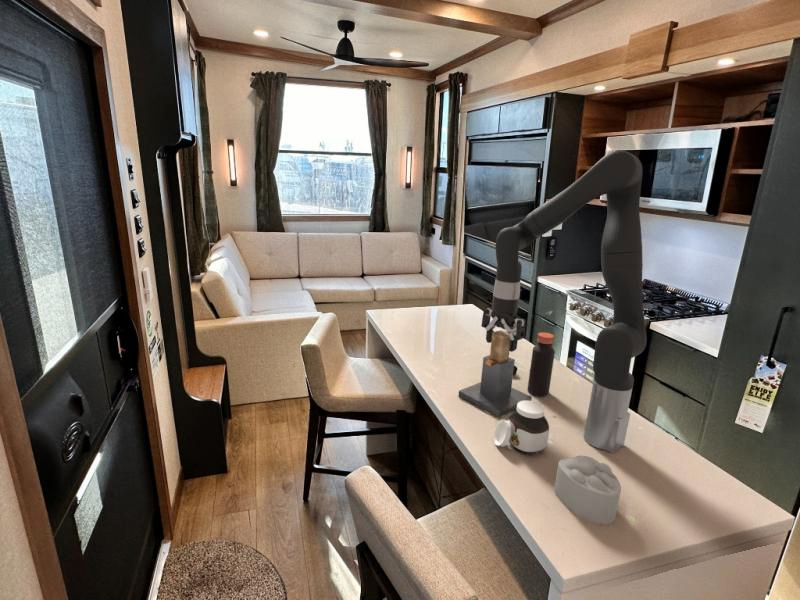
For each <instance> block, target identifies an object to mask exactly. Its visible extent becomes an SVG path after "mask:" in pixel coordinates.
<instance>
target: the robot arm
mask: <svg viewBox="0 0 800 600" xmlns="http://www.w3.org/2000/svg"><path fill="white" fill-rule="evenodd" d="M643 171H644V170H643V164H642V162H641V160H640V159H639V158H638V157H637V156H636V155H634V154H632V153H631V152H628V151H625V150H621V149H620V150H613V151H611V152H609V153H607V154H605V155H604V156H603V157H601V158H600V159H599V160H598V161H597V162H596V163H595V164H594V165H592V166H591V167H590V169H588V170H587V171H586V172H585V173H584V174H583V175H582V176H581V177H580V178H578V179H577V180H576V181H574V182H573V183H572V184H570V185H569V186H567V188H565V189H564V190H562V191H561V192H559V193H557V194H556V195H555V196H553V197H551V199H548V200H547V201H546V202H544V203H542V204H541V205H539V206H538V207H537V208H535V209H534V210H532V211H531V212H530V213H528V214H527V215H526V217H525V218H524V219H522V221H520V222H518V223H517V224H515V225H513V226H509V227H505V228H503V229H500V231H499V232H498V234H497V236H496V239H495V246H494V247H495V258H496V264H497V266H496V273H495V282H494V286H493V294H492V303H491V307H489V308H484V309H483V313H482V318H481V319H482V320H481V325H480V326H481V327H482V328H484V329H485V331H486V334H485V340H486V343H488V344H490V343H491V341H492V333H493V332H495V331H494V329H495V328H496V327H497V328H500V329H501V330H503V331H504V330H505V332H507V333H508V334H509V336H510V338H511V340H510V345H509V353H510V352H515V351H516V350H517V348H518V342H519V341H520V340H523V339H525V334H526V333H525V332H526V323H527V322H526V319H525V318H521V319H520V318H517V313H518V310H519V304H520V303H519V302H520V296H521V295H520V293H521V279H522V278H521V277H522V269H523V268H522V267H523V266H522V263H521V261H519V251H521V250H524V249H525V248H527V246H530V245H531V244H532V243H533V242H535V241H536V240H537V239H539V238H540V237H542V236H543V235H545V234H547V233H549V232H550V231H551V230H554V229H555V228H556V227H558V226H560V225H561V224H563V223H564V222H566V221H567V220H569V218H571V216H573V215H574V214H576V212H577V211H579V210H580V209H581V208H583V207H584V206H586V205H587V204H588V203H590V202H592V201H594V200H596V199H597V198H599V197H601V196H604V195H606V205H607V207H606V209H607V214H606V219H605V220H606V221H605V225H604V229H603V233H602V239H601V246H600V261H601V262H600V263H601V264H600V265H601V274H602V277H603V280H604V284H606V288H607V289H608V292H609V294H610V296H611V300H612V304H613V305H612V306H613V320H612V321H613V323H612V325H609V326H606V327H604V328H602V329H601V331H599V333H598V335H597V338H596V342H595V347H594V355H593V363H592V370H593V373H594V376H593V382H592V388H591V393H590V399H589V403H588V404H589V405H588V409H587V416H586V421H585V422H586V423H585V427H584V433H583V438H584V439H583V440H585V442H586V443H587V444H589V445H590V446H592V447H594V448H597V449H600V450H603V451H608V452H610V453H615V452H616V451H618V450H619V449H620V448H623V446H625V441H626V438H627V437H626V436H627V431H628V426H629V423H630V417H631V413H630V412H629V407H630V402H631V397H632V392H633V387H634V383H635V378H634V375H633V374H632V373H631V372H630V369H631V362H632V359H633V358H635V357H637V356H639V355H641V354H642V352H644V350H645V349H646V346H647V341H648V339H647V338H648V337H647V329H646V328H647V327H646V321H645V313H644V304H643V267H644V266H643V261H644V260H643V239H642V224H641V214H640V204H641V203H640V201H641V190H642V189H641V188H642V181H643ZM491 319H492V320H491Z"/></svg>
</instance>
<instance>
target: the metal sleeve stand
mask: <svg viewBox="0 0 800 600" xmlns="http://www.w3.org/2000/svg"><path fill="white" fill-rule="evenodd" d="M515 362H516V361H515V358H512V357H509V359H508V360H507V361H504V362H501V363H500V362H497V361H495V360H493V359H490V354H489V355H486V356H485V355H484V356H483V358H482V369H481V377H480V379H481V380H480V382H478V383H476V384H473V385H470V386H468V387H465V388H462V389H460V390H459V391H458V395H457V396H458V397H459V398H460V399H463V400H464V401H466V402H468V403H470V404H472V405H473V406H475V407H477V408H479V409H480V410H483V411H484V412H486V413H488V414H490V415H491V416H493V417H496V418H497V419H500V418H502V417H504V416H506V415H508V414H511V413H512V412H513V411H515V410H516V409H517V404H518V402H520V401H525V400H528V401H533V400H532V399H533V397H532V396H531V395H529V394H527V393H524V392H522V391H520V390H518V389H516V388H514V387H512V385H513V378H514V375H513V370H514V365H515Z"/></svg>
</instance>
